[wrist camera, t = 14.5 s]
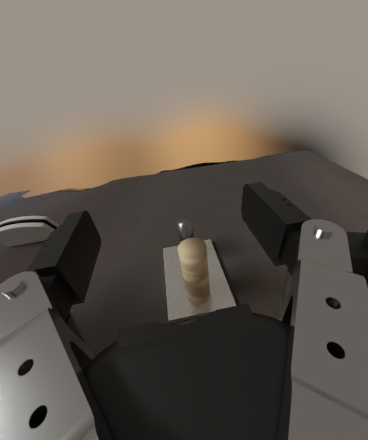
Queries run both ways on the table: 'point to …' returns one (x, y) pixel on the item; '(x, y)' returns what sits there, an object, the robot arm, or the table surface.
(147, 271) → the table surface
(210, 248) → the bolt plate
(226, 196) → the table surface
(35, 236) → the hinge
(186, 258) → the oak post
